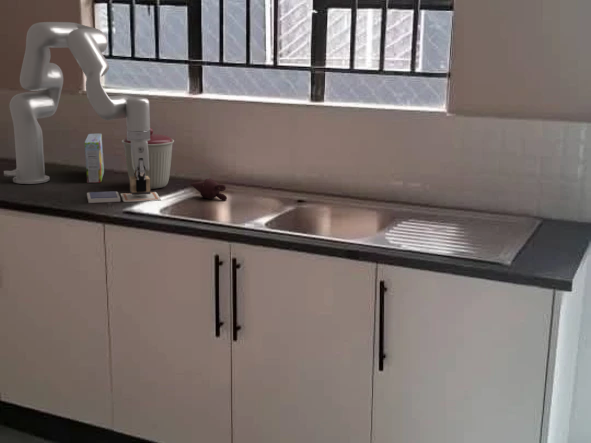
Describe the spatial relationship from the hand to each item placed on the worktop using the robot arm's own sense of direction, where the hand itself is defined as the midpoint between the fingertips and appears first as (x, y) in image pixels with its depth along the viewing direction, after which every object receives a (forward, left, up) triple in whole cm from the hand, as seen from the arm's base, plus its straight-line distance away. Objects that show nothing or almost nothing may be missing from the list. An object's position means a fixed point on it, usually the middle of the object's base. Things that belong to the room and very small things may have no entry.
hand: (140, 189), depth 274 cm
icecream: (+22, -6, -3) cm, 23 cm away
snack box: (-12, +38, -3) cm, 40 cm away
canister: (+5, +17, -3) cm, 18 cm away
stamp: (0, 0, -1) cm, 1 cm away
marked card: (0, 0, -3) cm, 3 cm away
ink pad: (-12, 0, -3) cm, 12 cm away
